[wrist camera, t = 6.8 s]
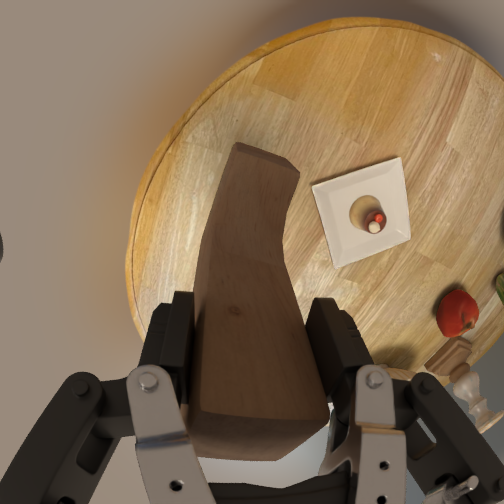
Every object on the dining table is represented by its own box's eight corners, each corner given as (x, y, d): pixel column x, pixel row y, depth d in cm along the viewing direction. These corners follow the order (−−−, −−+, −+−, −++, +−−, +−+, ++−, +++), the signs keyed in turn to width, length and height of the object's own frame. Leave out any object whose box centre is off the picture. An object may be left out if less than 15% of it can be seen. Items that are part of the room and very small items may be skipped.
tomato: (455, 314, 46) (474, 340, 39) (423, 324, 46) (442, 353, 39) (469, 278, 41) (493, 303, 34) (437, 286, 41) (461, 315, 34)
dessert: (396, 155, 30) (417, 164, 26) (407, 235, 35) (424, 252, 31) (308, 183, 31) (320, 197, 27) (332, 265, 37) (343, 286, 33)
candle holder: (423, 365, 54) (461, 444, 33) (454, 334, 49) (502, 412, 29) (441, 369, 57) (476, 438, 36) (469, 341, 52) (511, 409, 32)
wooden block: (234, 139, 20) (257, 282, 4) (289, 159, 21) (433, 322, 5) (200, 240, 24) (174, 455, 8) (249, 254, 25) (279, 463, 9)
